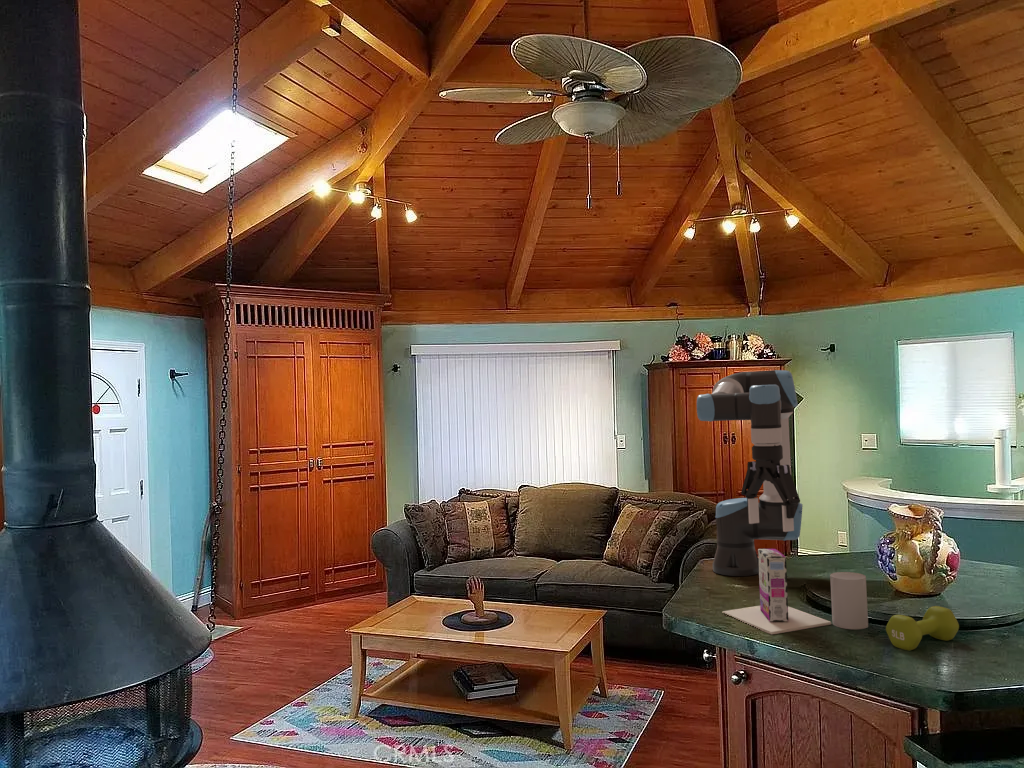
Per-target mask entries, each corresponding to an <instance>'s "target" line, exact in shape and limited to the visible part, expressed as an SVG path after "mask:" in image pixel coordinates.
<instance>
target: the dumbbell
mask: <svg viewBox="0 0 1024 768" xmlns="http://www.w3.org/2000/svg"><path fill="white" fill-rule="evenodd" d="M959 629H960V624H959V622H958V620H957V617H956V616H955V614H954V612H953V611H952V610H951V609H950V608H947V607H945V606H944V607H943V606H939V605H934V606H930V607H928V609H927V610H926V611H925V613H924V615H923V617H922V620H921V619H920V620H918V621H917V620H915V619H914V618H913V617H911V616H907V615H904V614H895V615H891V617H890V618H889V620H888V622H887V624H886V626H885V631H886V634H887V637H888V639H889V641H890V643H891V644H892V645H893V646H894V647H895V648H899V649H901V650H904V651H913V650H916V649H917V647H918V646H919V644H920V642H921V640H923V636H926V635H929V636H930V637H932V638H934V639H936V640H941V641H946V642H947V641H951V640H953V639H954V638H955V636H956V635H957V633H958V631H959Z"/></svg>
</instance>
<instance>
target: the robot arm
mask: <svg viewBox="0 0 1024 768" xmlns="http://www.w3.org/2000/svg"><path fill="white" fill-rule="evenodd" d="M796 407H798V396H797V392H796V387H795V382H794V376H793V374H792V372H791V371H790V370H786V369H785V370H783V369H779V370H778V369H773V370H758V371H757V370H756V371H740V372H736V373H733V374H729V375H727V376H724V377H723V378H721V379H719V380H718V381H717V382H716V383H715V384H714V386H713V388H712V392H711V393H705V394H698V395H697V397H696V414H697V419H698V420H699V421H701V422H710V423H711V422H720V421H723V422H724V421H750V439H751V440H750V441H751V442H750V443H752V444H753V445H752V446H751V456H752V457H751V458H752V460H753V461H747V464H746V465H747V470H746V473H745V477H744V481H743V484H742V488H741V492H740V494H741V495H742V496H745V497H738V498H730V499H726V500H722V501H719V502H718V503H717V504H716V506H715V516H714V517H715V523H716V526H715V527H716V545H717V546H716V547H717V548H716V551H715V554H714V558H713V561H712V571H713V572H714V573H715V574H719V575H723V576H730V577H748V576H755V575H759V557H758V552H757V550H756V547H755V540H770V541H784V542H785V541H796V540H798V539H799V538H800V537H801V527H802V518H803V507H804V506H803V504H802V502H801V498H800V496H799V494H798V491H797V488H796V485H795V483H794V479H793V477H792V463H791V446H790V445H791V444H790V427H789V426H790V424H789V419H790V416H791V415H792V414H794V408H796ZM762 487H763V493H762V494H761V495H760V496H759V498H758V493H759V492H760V489H761V488H762Z"/></svg>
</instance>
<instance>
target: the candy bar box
mask: <svg viewBox="0 0 1024 768" xmlns="http://www.w3.org/2000/svg"><path fill="white" fill-rule="evenodd" d="M757 556H758V559H759V574H758V578H759V581H758V582H759V583H758V585H759V606H760V610H761V612H762V613H763V614H764V615H765V616H766V618H767V619H768V620H769V621H770V622H788V606H789V603H788V601H789V600H788V597H789V595H788V573H787V572H788V571H787V556H785V555H784V554H783V553H782V552H780V551H779V550H778V549H777V548H758V549H757Z"/></svg>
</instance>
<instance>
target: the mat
mask: <svg viewBox="0 0 1024 768" xmlns="http://www.w3.org/2000/svg"><path fill="white" fill-rule="evenodd" d="M721 613H725V614H727V615H729V616H732V617H734V618H736V619H738V620H740V621H739V622H741V621H742V622H741V623H743V622H744V623H743V624H745V623H747V624H746V625H748V624H749V625H748V626H750V625H751V626H750V627H752V626H754V627H753V628H755V627H756V628H755V629H757V628H758V629H757V630H759V629H760V630H759V631H762V632H764V633H766V634H768V635H777V634H782V633H789V632H796V631H800V630H801V631H802V630H805V629H812V628H819V627H825V626H829V625H832V621H830V620H827V619H825V618H821V617H819V616H816V615H813V614H811V613H808V612H805V611H802V610H800V609H797V608H794V607H792V606H789V605H788V622H770V621H769V620H768V619H767V618H766V616H765V615H764V614H763V613H762V612H761V610H760V605H755V606H749V607H743V608H735V609H727V610H723V611H721ZM727 615H726V616H727ZM729 616H728V617H729ZM734 618H733V619H734ZM736 619H735V620H736ZM738 620H737V621H738Z"/></svg>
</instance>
